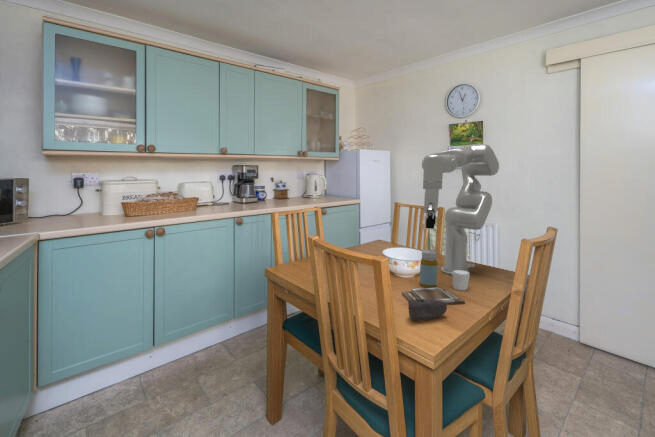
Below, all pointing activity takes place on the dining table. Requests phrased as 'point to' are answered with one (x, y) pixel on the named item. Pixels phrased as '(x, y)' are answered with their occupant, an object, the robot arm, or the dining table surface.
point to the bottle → (428, 268)
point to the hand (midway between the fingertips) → (430, 226)
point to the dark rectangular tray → (434, 295)
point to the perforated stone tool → (426, 309)
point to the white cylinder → (460, 279)
